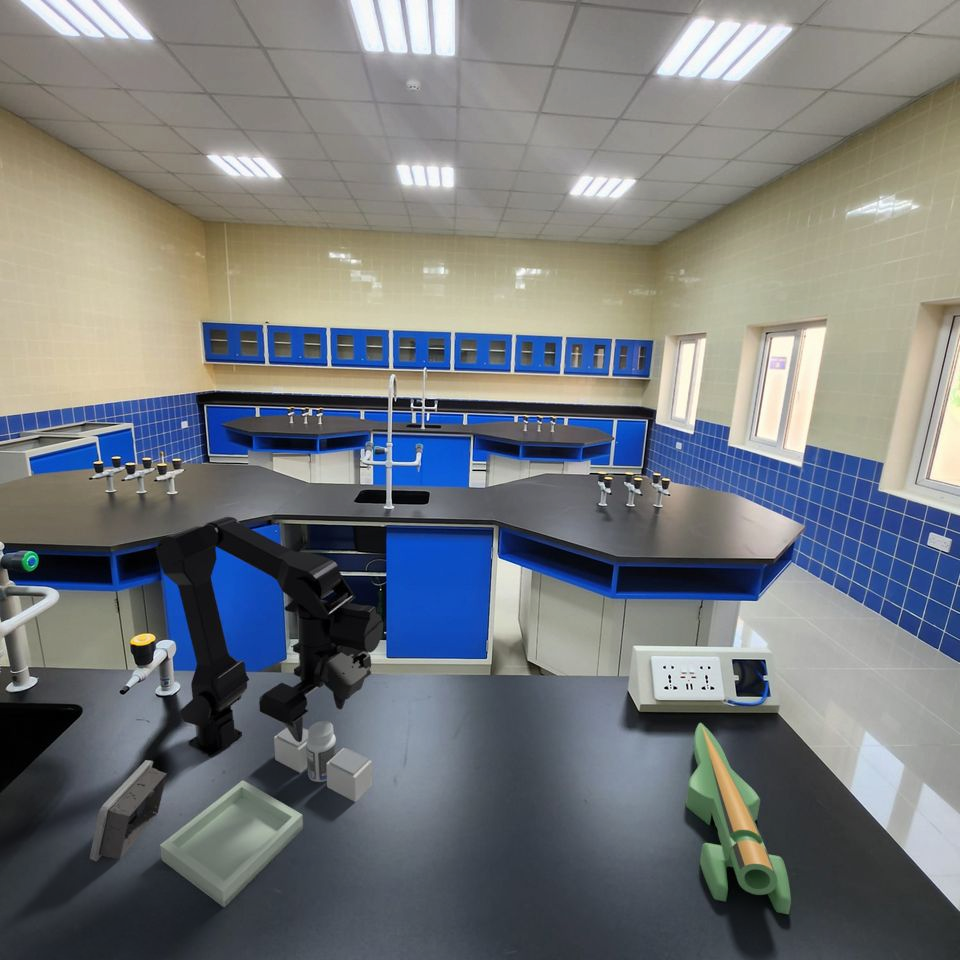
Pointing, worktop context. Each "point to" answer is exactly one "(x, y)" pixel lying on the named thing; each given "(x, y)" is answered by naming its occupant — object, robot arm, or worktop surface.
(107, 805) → the electrical switch
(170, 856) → the tray
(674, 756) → the worktop surface
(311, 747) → the pill bottle
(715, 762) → the green toy rocket
